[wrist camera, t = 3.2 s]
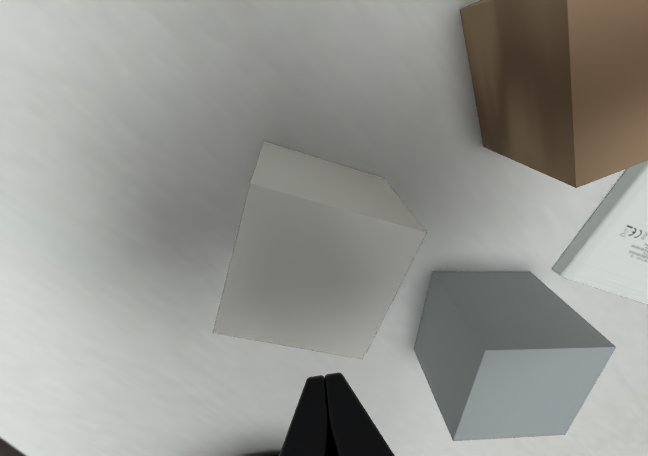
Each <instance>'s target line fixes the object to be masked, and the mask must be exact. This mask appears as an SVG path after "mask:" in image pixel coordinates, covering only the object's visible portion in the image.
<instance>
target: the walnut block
mask: <svg viewBox="0 0 648 456" xmlns="http://www.w3.org/2000/svg"><path fill="white" fill-rule="evenodd" d="M460 13H461V19H462V25H463V31H464V37H465V42H466V48H467V54H468V60H469V65H470V71H471V77H472V83H473V88H474V94H475V100H476V106H477V111H478V117H479V123H480V129H481V135H482V140H483V146H484V147H485V148H487V149H490V150H492V151H494V152H497V153H499V154H501V155H503V156H506V157H508V158H510V159H512V160H515V161H517V162H519V163H521V164H524V165H526V166H528V167H530V168H533V169H535V170H537V171H539V172H542V173H544V174H546V175H548V176H551V177H553V178H555V179H557V180H560V181H562V182H564V183H566V184H569V185H571V186H573V187H575V188H577V187H580V186H582V185H585V184H587V183H590V182H593V181H595V180H598V179H601V178H603V177H606V176H608V175H611V174H614V173H616V172H619V171H621V170H624V169H627V168H629V167H632V166H635V165H637V164H640V163H642V162H645V161H648V0H481V1H478V2H476V3H474V4H472V5H469V6H467V7H465V8H463V9H460Z"/></svg>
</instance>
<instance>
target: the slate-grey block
mask: <svg viewBox="0 0 648 456" xmlns="http://www.w3.org/2000/svg"><path fill="white" fill-rule="evenodd" d="M615 348H616V347H615V346H614V345H613V344H612V343H611V342H610V341H609V340H607V339H606V338H605V337H604V336H603V335H602V334H601V333H599V332H598V331H597V330H596V329H595V328H594V327H593V326H591V325H590V324H589V323H588V322H587V321H586V320H585V319H583V318H582V317H581V316H580V315H579V314H578V313H577V312H575V311H574V310H573V309H572V308H571V307H570V306H569V305H568V304H566V303H565V302H564V301H563V300H562V299H561V298H560V297H558V296H557V295H556V294H555V293H554V292H553V291H552V290H550V289H549V288H548V287H547V286H546V285H545V284H544V283H542V282H541V281H540V280H539V279H538V278H537V277H536V276H534V275H533V274H532V273H531V272H432V275H431V279H430V283H429V287H428V292H427V296H426V300H425V304H424V309H423V313H422V317H421V321H420V326H419V330H418V334H417V338H416V343H415V347H414V351H415V353H416V356H417V358H418V360H419V363H420V365H421V367H422V370H423V372H424V374H425V377H426V379H427V381H428V384H429V386H430V388H431V391H432V393H433V395H434V398H435V400H436V402H437V405H438V407H439V409H440V412H441V414H442V416H443V419H444V421H445V423H446V426H447V428H448V430H449V433H450V435H451V437H452V440H453V441H462V440H480V439H498V438H516V437H534V436H552V435H565V434H566V433H567V431H568V429H569V427H570V426H571V424H572V422H573V420H574V419H575V417H576V415H577V414H578V412H579V410H580V408H581V407H582V405H583V403H584V401H585V400H586V398H587V396H588V395H589V393H590V391H591V389H592V388H593V386H594V384H595V382H596V381H597V379H598V377H599V376H600V374H601V372H602V370H603V369H604V367H605V365H606V363H607V362H608V360H609V358H610V357H611V355H612V353H613V351H614V350H615Z"/></svg>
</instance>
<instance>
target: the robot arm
mask: <svg viewBox="0 0 648 456" xmlns="http://www.w3.org/2000/svg"><path fill="white" fill-rule="evenodd" d="M274 456H394V454H393V453H392V451H391V449H390V448H389V446H388V445H387V443H386V442H385V440H384V439H383V437H382V435H381V434H380V432H379V431H378V429H377V428H376V426H375V424H374V423H373V421H372V420H371V418H370V417H369V415H368V414H367V412H366V410H365V409H364V407H363V406H362V404H361V403H360V401H359V400H358V398H357V396H356V395H355V393H354V392H353V390H352V389H351V387H350V386H349V384H348V382H347V381H346V379H345V378H344V376H343V375H342V374H341V373H333V374H327V375H326V376H325V378H324V376H322V375H320V376H314V377H309V378H308V379H307V380H306V383H305V386H304V388H303V391H302V394H301V397H300V399H299V402H298V405H297V408H296V410H295V413H294V416H293V419H292V421H291V424H290V427H289V430H288V433H287V435H286V438H285V441H284V444H283V446H282V449H281V452H280V455H274Z"/></svg>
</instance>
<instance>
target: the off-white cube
mask: <svg viewBox="0 0 648 456" xmlns="http://www.w3.org/2000/svg"><path fill="white" fill-rule="evenodd" d="M426 234H427V232H426V230H425V229H424V228H423V227H422V225H421V224H420V223H419V222H418V220H417V219H416V218H415V217H414V215H413V214H412V213H411V212H410V210H409V209H408V208H407V207H406V205H405V204H404V203H403V202H402V200H401V199H400V198H399V197H398V195H397V194H396V193H395V192H394V190H393V189H392V188H391V187H390V185H389V184H388V183H387V182H386V180H385V179H384V178H382V177H379V176H375V175H372V174H369V173H366V172H362V171H359V170H356V169H353V168H349V167H346V166H343V165H339V164H336V163H333V162H330V161H326V160H323V159H320V158H317V157H313V156H310V155H307V154H304V153H300V152H297V151H294V150H291V149H287V148H284V147H281V146H277V145H274V144H271V143H268V142H263V145H262V148H261V151H260V155H259V158H258V161H257V164H256V167H255V170H254V173H253V176H252V180H251V183H250V186H249V190H248V194H247V198H246V202H245V206H244V210H243V214H242V218H241V222H240V226H239V230H238V234H237V238H236V242H235V246H234V250H233V254H232V258H231V262H230V266H229V270H228V274H227V278H226V282H225V286H224V290H223V294H222V298H221V302H220V306H219V310H218V314H217V318H216V322H215V326H214V330H213V333H217V334H222V335H228V336H233V337H239V338H245V339H250V340H256V341H262V342H267V343H273V344H279V345H284V346H290V347H296V348H301V349H307V350H312V351H318V352H324V353H329V354H335V355H341V356H346V357H352V358H358V359H363V358H364V356H365V354H366V352H367V350H368V348H369V346H370V344H371V342H372V340H373V338H374V336H375V334H376V332H377V330H378V328H379V326H380V325H381V323H382V321H383V319H384V317H385V315H386V313H387V311H388V309H389V307H390V305H391V303H392V301H393V299H394V297H395V295H396V293H397V291H398V289H399V287H400V285H401V283H402V281H403V279H404V277H405V275H406V273H407V271H408V269H409V267H410V265H411V263H412V261H413V259H414V257H415V255H416V253H417V251H418V249H419V248H420V246H421V244H422V242H423V240H424V238H425V236H426Z"/></svg>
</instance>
